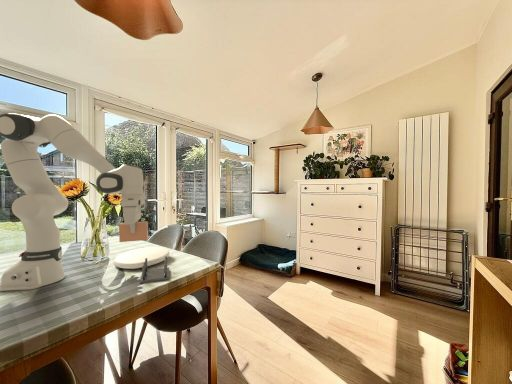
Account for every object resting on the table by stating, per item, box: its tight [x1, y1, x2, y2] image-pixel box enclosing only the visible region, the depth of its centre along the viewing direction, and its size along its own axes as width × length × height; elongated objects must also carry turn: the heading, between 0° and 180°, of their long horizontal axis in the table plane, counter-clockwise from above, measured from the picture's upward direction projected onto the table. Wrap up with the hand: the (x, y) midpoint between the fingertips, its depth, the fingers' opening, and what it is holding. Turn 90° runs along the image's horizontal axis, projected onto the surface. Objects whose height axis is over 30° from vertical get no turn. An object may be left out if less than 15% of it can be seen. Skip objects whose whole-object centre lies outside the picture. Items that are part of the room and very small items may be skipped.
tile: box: [118, 220, 149, 243], centre depth 102 cm, size 11×3×8 cm, turn 110°
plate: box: [113, 246, 170, 270], centre depth 127 cm, size 28×6×27 cm
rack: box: [139, 256, 170, 284], centre depth 108 cm, size 12×13×7 cm
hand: (133, 231), depth 102 cm, fingers closed on tile, 3 cm apart
